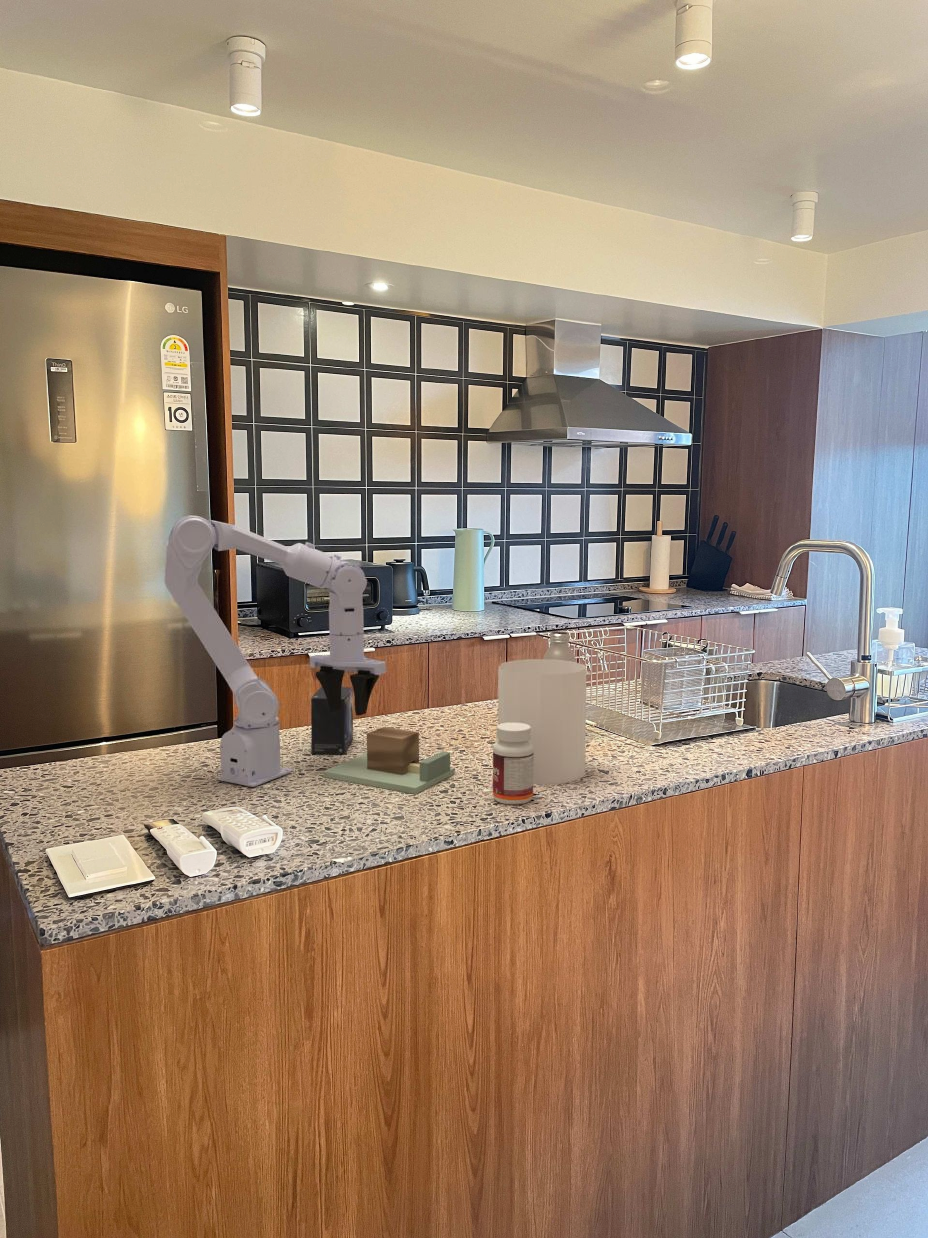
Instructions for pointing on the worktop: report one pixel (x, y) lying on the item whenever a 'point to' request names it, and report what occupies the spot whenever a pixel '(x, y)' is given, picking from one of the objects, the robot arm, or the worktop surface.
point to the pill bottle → (513, 764)
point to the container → (547, 714)
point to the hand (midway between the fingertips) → (348, 712)
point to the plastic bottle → (559, 647)
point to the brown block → (392, 750)
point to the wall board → (410, 782)
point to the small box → (331, 723)
